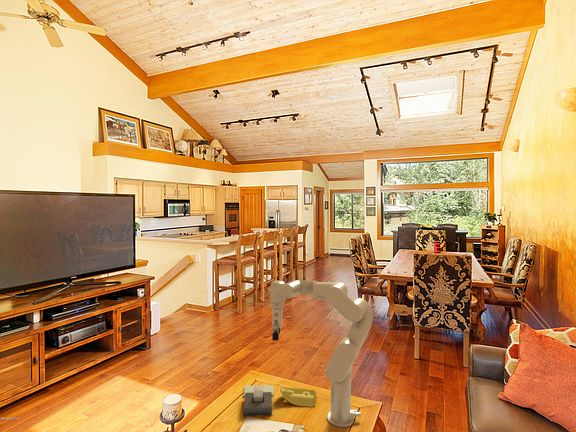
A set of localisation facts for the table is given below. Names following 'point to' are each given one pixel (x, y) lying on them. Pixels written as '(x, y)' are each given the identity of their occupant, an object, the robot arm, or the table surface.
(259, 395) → the beige peg
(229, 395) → the table surface
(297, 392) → the plastic component
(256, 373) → the table surface
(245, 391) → the sage mat
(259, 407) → the socket block
